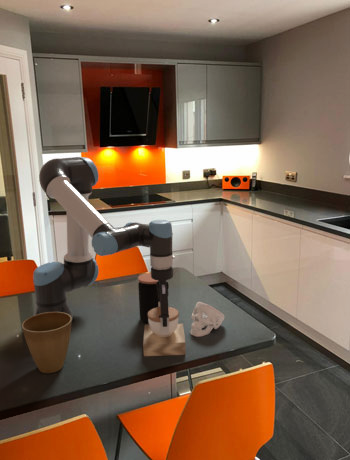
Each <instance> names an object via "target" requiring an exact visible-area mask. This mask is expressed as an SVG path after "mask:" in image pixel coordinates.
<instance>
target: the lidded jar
mask: <svg viewBox="0 0 350 460" xmlns="http://www.w3.org/2000/svg"><path fill="white" fill-rule="evenodd" d="M168 310H169V335H161V322H160V318H159V316H160V315H161V310H160V307H157V308H154V309H151V310H150V311H149V312H148V322H149V326H150V329H151V330H152V332H153V333H154V334H155V335H156V336H158V337H169V336H171V335H172V334H173V333H174V331H175V330H176V329H177V326H178V324H179V315H180V314H179V310H178V309H177V308H174V307H173V306H172V307H171V306H168Z"/></svg>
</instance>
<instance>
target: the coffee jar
mask: <svg viewBox="0 0 350 460" xmlns="http://www.w3.org/2000/svg"><path fill="white" fill-rule="evenodd" d="M137 280H138V283H137V284H138V285H137V286H138V305H139V306H138V307H139V319H140V321H141V322H142V323H143V324H144V325H149V322H148V312H149V311H150V310H151V309H154V308H157V307H158V302H160V301H158V291H157V285H156V282H158V280H154V279H152V278H151V272H148V273H143V274H140V275H139V276H138V277H137Z"/></svg>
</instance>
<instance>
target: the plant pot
mask: <svg viewBox="0 0 350 460" xmlns="http://www.w3.org/2000/svg"><path fill="white" fill-rule="evenodd" d="M72 322H73V320H72V318H71V316H70V315H69V314H67V313H63V312H46V313H41V314H37V315H32V316H30V317H28V318H26V319H25V320H24V321H23V322H22V324H21V328H22V331H23V336H24V339H25V342H26V345H27V347H28V350H29V352H30V354H31V357H32V360H33V362H34V363H35V365H36V367H37V368H38V371H40V372H41V373H42V374H52V373H57V372H59V371H60V370H62V369H63V367H64V364H65V361H66V358H67V354H68V349H69V345H70V339H71V332H72Z"/></svg>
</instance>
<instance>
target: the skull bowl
mask: <svg viewBox="0 0 350 460" xmlns="http://www.w3.org/2000/svg"><path fill="white" fill-rule="evenodd" d="M190 318H191V320H192V323H191V324H190V327H191V329H190V335H191V336H193V337H197V338H198V337H204V336H207V335H209V334H210V333H211V331H212V330H213V329H214V330H217V329H219V327H220V326H222V323H223V322H224V320H225V315H224V314H223V312H221V311H219V310H218V309H216V308H215V307H214V306H211V305H210V304H207V303H204V302H202V301H197V302H196V303H195V306H194V308H193V311H192V314H191V317H190ZM204 328H205V329H204Z"/></svg>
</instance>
